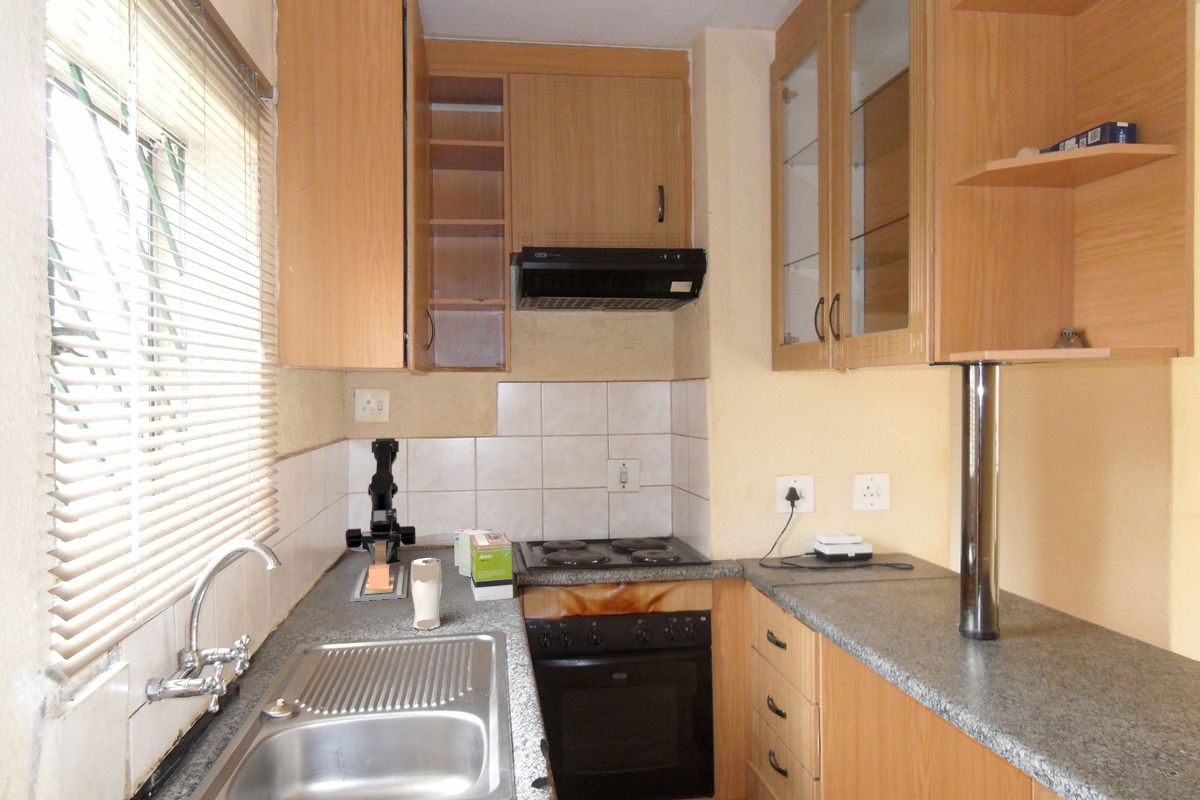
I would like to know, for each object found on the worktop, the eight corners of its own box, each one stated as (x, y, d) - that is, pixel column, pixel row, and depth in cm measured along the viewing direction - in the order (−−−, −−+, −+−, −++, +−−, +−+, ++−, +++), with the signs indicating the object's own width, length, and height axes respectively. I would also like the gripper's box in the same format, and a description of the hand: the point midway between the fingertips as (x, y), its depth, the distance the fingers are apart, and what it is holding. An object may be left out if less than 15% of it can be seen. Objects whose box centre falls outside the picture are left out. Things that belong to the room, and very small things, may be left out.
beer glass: (415, 622, 180) (414, 557, 180) (445, 622, 180) (444, 557, 180) (407, 631, 174) (406, 564, 173) (438, 631, 173) (437, 564, 173)
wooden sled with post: (368, 579, 217) (368, 540, 217) (394, 578, 219) (394, 539, 219) (364, 594, 201) (364, 551, 201) (392, 592, 203) (392, 550, 203)
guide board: (358, 575, 228) (358, 568, 228) (408, 572, 231) (408, 565, 231) (349, 602, 199) (349, 593, 199) (406, 598, 202) (406, 589, 202)
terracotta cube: (370, 584, 208) (370, 565, 208) (389, 582, 209) (389, 564, 209) (369, 588, 203) (368, 569, 203) (388, 587, 204) (388, 568, 204)
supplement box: (471, 578, 223) (471, 534, 223) (458, 574, 228) (457, 531, 228) (493, 574, 228) (493, 531, 228) (479, 570, 233) (479, 528, 233)
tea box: (469, 588, 212) (468, 533, 212) (506, 585, 215) (505, 531, 214) (474, 602, 197) (473, 544, 197) (514, 599, 200) (513, 541, 200)
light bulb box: (493, 562, 244) (492, 527, 244) (488, 567, 237) (487, 531, 237) (459, 561, 245) (459, 527, 245) (453, 566, 238) (453, 531, 238)
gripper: (345, 500, 215) (342, 547, 205) (414, 497, 220) (415, 543, 209) (348, 523, 223) (345, 570, 213) (415, 520, 227) (415, 566, 217)
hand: (380, 562), depth 213 cm, fingers closed on wooden sled with post, 3 cm apart
